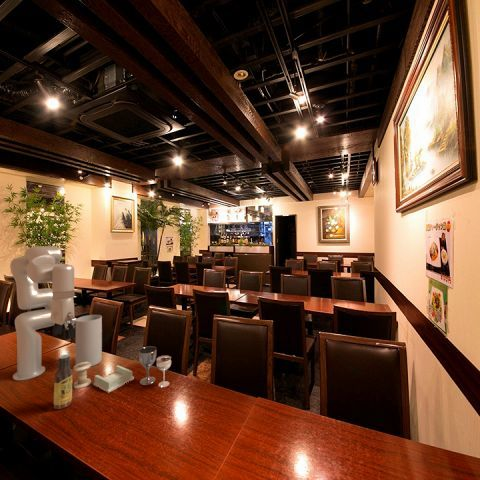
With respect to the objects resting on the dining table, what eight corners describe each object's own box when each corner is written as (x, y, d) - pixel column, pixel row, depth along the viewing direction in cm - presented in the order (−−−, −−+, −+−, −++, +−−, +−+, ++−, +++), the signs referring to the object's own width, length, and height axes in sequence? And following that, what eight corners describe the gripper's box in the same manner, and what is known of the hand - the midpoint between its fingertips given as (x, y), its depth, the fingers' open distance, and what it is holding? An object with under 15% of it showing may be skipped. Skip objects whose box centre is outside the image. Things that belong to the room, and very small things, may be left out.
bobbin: (70, 385, 117) (70, 366, 117) (86, 378, 123) (86, 360, 123) (78, 390, 114) (78, 370, 114) (93, 382, 120) (94, 364, 120)
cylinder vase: (103, 356, 147) (103, 314, 148) (99, 366, 135) (99, 320, 136) (79, 359, 143) (79, 316, 144) (72, 370, 132) (72, 322, 132)
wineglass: (167, 389, 115) (167, 362, 115) (153, 387, 116) (153, 361, 116) (173, 381, 121) (173, 356, 121) (160, 379, 123) (161, 354, 123)
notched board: (93, 384, 118) (93, 376, 118) (119, 372, 129) (119, 364, 129) (108, 392, 112) (108, 383, 112) (134, 379, 123) (134, 370, 123)
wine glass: (135, 383, 119) (135, 351, 119) (147, 375, 127) (147, 345, 127) (148, 386, 116) (148, 354, 116) (159, 378, 124) (159, 347, 124)
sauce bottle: (62, 411, 100) (62, 361, 100) (49, 409, 101) (49, 359, 101) (76, 400, 106) (76, 353, 106) (63, 399, 107) (64, 352, 108)
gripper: (43, 294, 105) (43, 335, 105) (63, 299, 96) (63, 343, 96) (63, 291, 112) (63, 330, 111) (84, 295, 103) (84, 337, 103)
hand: (63, 336), depth 104 cm, fingers open, 9 cm apart
